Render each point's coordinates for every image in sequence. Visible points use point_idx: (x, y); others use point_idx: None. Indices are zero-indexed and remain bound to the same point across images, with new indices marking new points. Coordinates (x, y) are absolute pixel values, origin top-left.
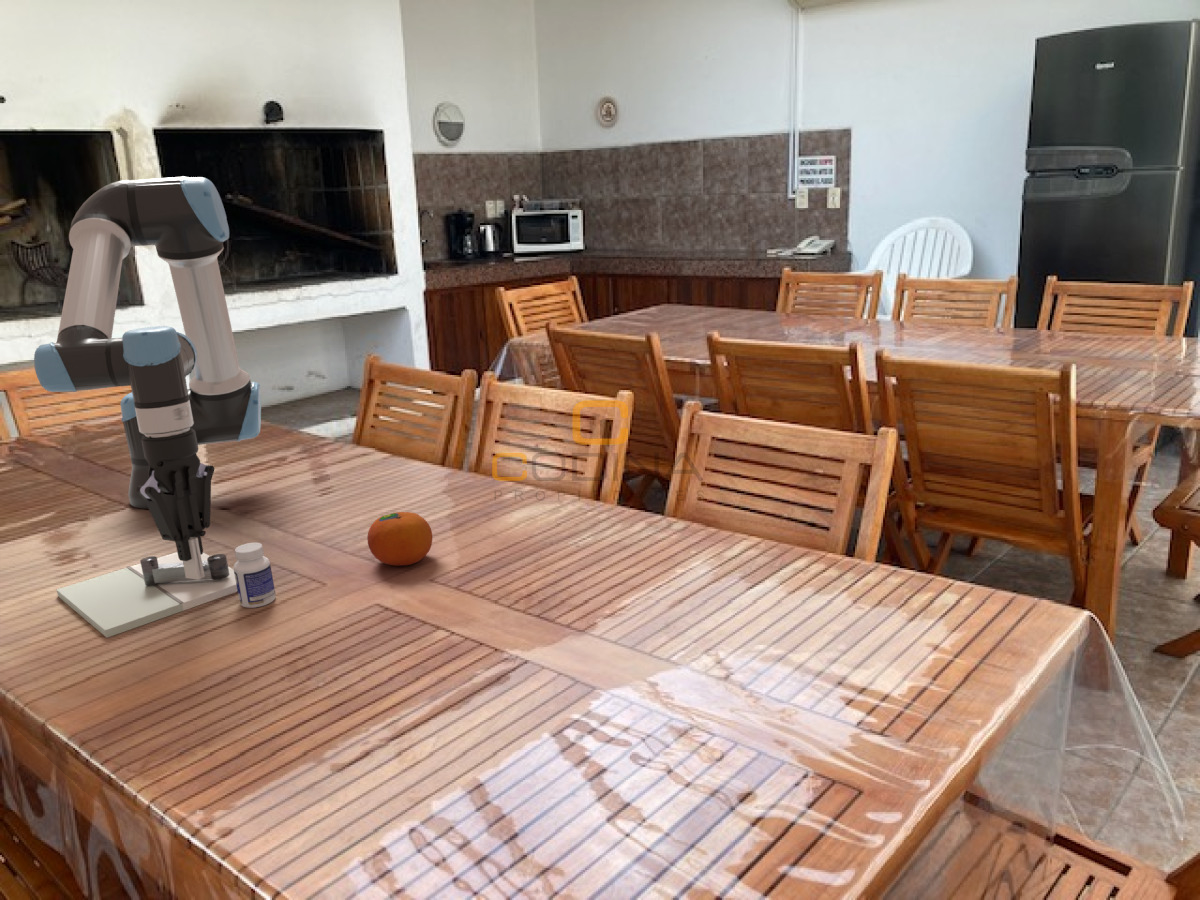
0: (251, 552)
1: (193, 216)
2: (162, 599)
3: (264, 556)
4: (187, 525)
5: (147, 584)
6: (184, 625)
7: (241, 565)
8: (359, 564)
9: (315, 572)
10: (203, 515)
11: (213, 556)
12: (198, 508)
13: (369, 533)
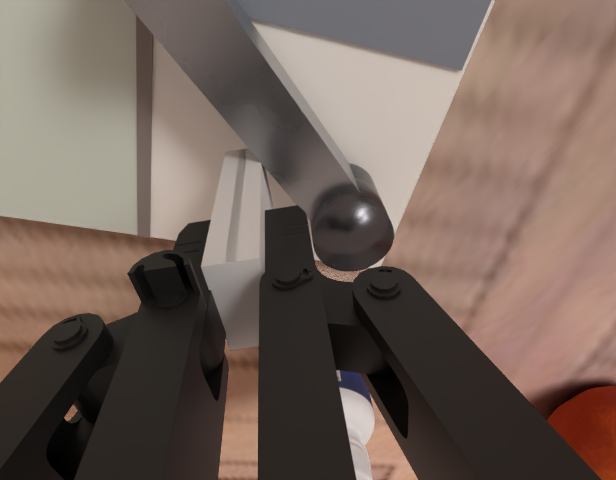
0: None
1: None
2: (106, 145)
3: (364, 444)
4: (219, 440)
5: None
6: (111, 295)
7: None
8: (562, 358)
9: (501, 317)
10: (393, 432)
11: (356, 220)
12: (426, 453)
13: (604, 473)
